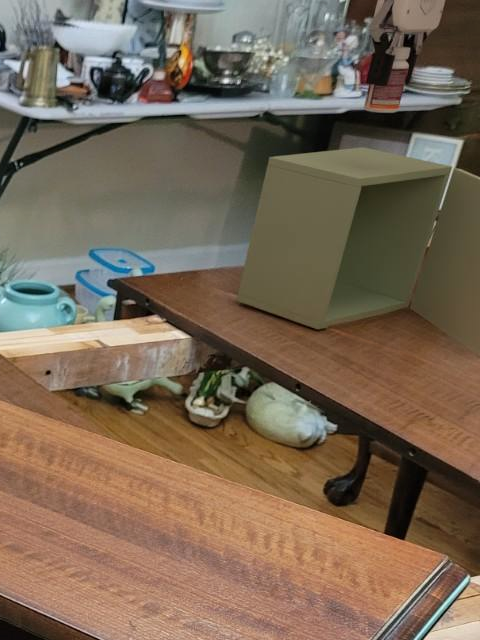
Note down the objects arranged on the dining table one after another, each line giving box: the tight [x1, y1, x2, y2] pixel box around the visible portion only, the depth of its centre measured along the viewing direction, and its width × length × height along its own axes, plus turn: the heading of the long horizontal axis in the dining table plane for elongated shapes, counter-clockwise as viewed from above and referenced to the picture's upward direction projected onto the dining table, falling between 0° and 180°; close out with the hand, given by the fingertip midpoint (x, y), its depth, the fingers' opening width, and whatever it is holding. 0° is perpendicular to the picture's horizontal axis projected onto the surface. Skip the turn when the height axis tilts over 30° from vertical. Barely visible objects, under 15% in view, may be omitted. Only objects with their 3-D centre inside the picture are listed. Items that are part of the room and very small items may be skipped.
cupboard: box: [236, 146, 453, 330], centre depth 176 cm, size 16×24×22 cm, turn 125°
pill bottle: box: [363, 45, 410, 114], centre depth 159 cm, size 5×5×8 cm
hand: (387, 82), depth 159 cm, fingers closed on pill bottle, 4 cm apart
